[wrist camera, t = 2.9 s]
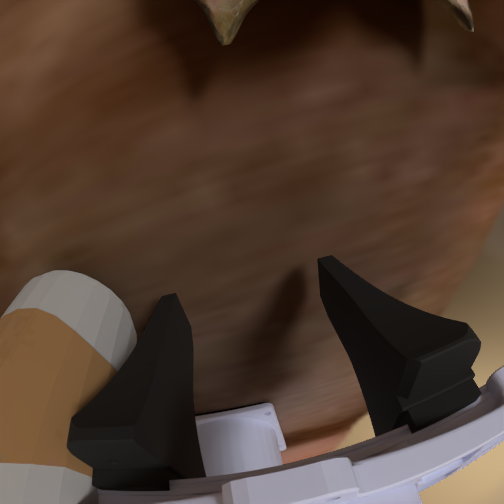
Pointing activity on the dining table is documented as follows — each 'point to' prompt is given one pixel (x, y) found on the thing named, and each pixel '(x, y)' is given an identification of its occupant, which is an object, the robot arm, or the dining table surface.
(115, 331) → the coffee cup
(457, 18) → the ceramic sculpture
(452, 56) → the dining table surface
